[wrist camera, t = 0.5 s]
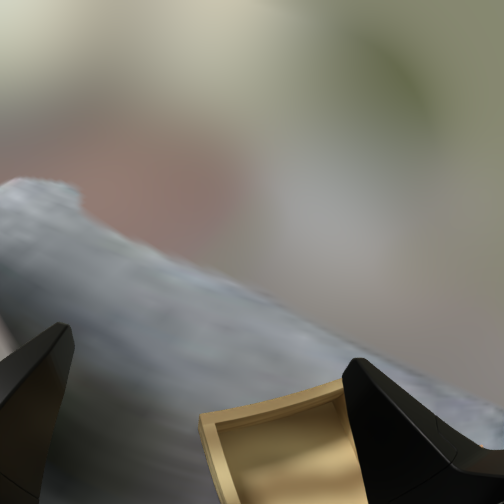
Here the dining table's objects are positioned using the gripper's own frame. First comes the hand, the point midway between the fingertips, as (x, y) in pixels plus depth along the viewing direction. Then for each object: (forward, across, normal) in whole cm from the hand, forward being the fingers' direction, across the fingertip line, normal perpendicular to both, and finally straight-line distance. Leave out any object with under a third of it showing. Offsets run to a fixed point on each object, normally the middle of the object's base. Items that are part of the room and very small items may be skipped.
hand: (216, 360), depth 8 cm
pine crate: (0, -9, +17) cm, 19 cm away
